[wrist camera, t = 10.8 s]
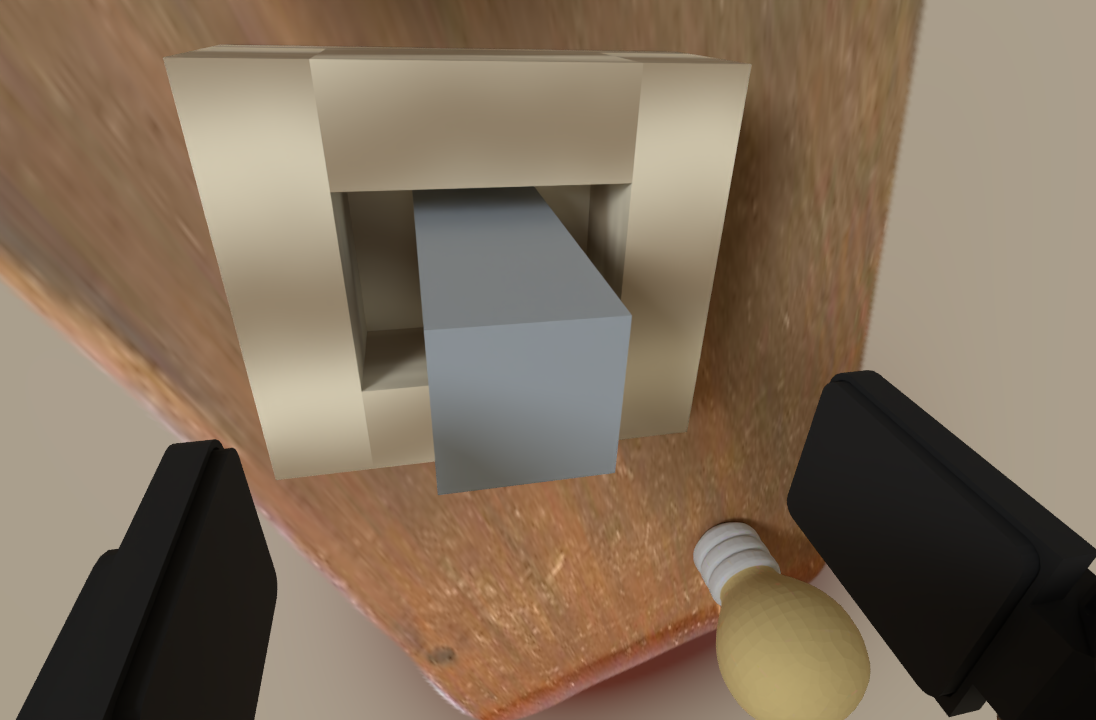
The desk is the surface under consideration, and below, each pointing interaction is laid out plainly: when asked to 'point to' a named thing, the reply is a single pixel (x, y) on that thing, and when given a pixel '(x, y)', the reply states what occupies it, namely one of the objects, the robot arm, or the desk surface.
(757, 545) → the light bulb
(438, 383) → the grey rectangular prism
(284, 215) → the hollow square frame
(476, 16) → the desk surface
